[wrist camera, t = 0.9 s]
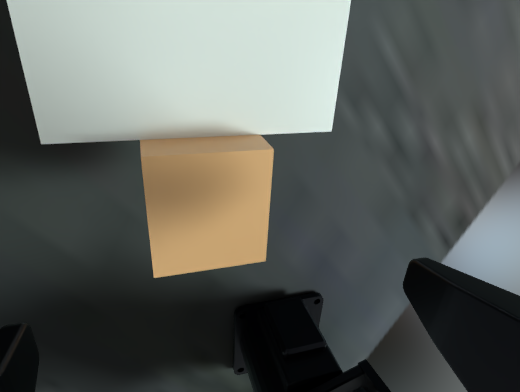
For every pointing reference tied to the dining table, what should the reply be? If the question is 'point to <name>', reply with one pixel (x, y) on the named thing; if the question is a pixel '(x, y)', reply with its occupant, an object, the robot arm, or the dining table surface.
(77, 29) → the lid
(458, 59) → the dining table surface
